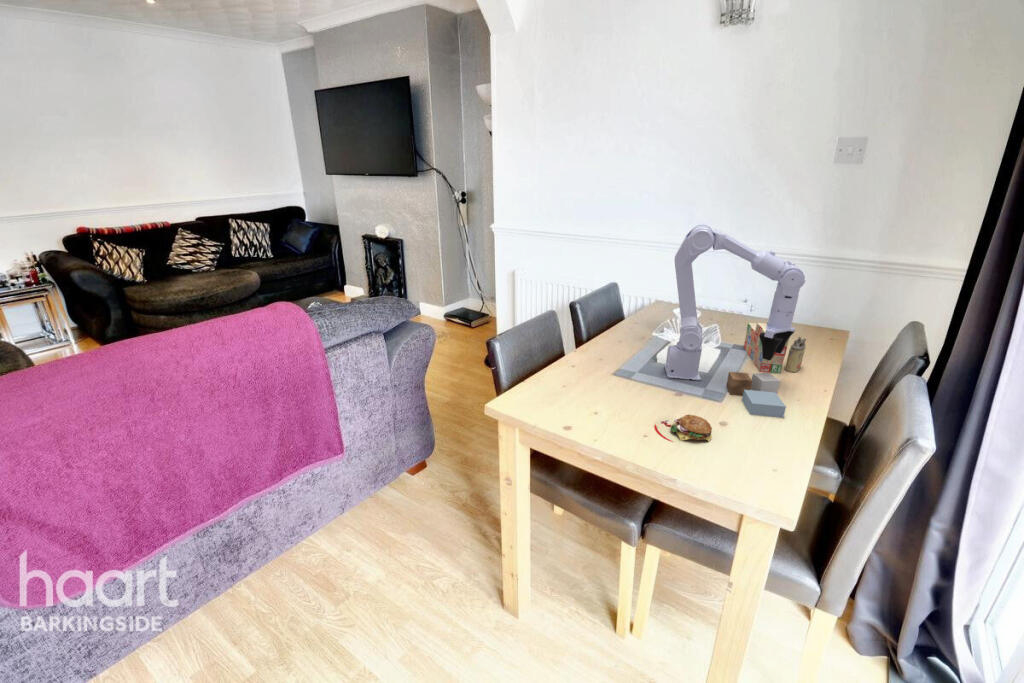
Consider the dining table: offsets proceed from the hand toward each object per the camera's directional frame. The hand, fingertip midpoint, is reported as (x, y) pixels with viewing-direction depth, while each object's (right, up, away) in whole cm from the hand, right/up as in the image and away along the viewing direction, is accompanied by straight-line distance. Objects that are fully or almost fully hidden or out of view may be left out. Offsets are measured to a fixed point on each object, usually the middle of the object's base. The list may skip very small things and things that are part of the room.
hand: (771, 355), depth 136 cm
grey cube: (-3, -11, 0) cm, 11 cm away
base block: (-8, -14, -9) cm, 18 cm away
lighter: (+15, -5, +16) cm, 23 cm away
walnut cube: (-10, -10, 0) cm, 14 cm away
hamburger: (-32, -18, -20) cm, 42 cm away
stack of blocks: (+9, -2, +23) cm, 24 cm away
